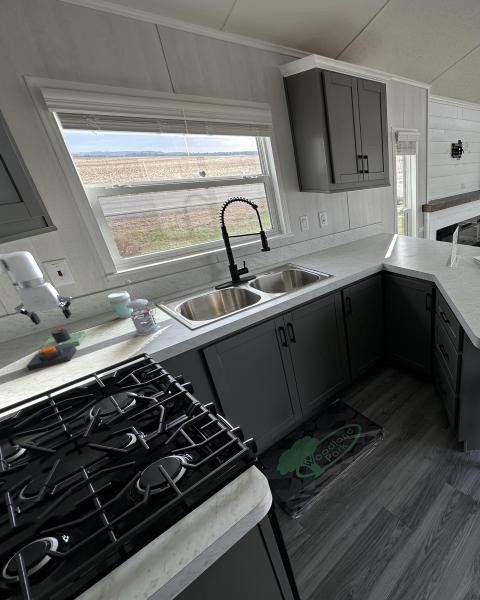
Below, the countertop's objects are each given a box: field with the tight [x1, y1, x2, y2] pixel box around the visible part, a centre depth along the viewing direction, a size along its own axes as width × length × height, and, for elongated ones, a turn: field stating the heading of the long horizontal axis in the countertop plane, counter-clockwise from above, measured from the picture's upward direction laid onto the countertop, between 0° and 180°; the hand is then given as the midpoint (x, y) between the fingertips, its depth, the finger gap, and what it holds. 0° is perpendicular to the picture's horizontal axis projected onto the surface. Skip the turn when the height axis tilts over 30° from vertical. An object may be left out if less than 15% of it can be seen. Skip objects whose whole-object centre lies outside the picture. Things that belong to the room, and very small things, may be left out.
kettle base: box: [26, 346, 78, 371], centre depth 130 cm, size 12×9×4 cm
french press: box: [124, 279, 161, 337], centre depth 146 cm, size 10×12×25 cm
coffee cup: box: [107, 290, 134, 320], centre depth 162 cm, size 8×8×12 cm
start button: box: [40, 346, 57, 355], centre depth 129 cm, size 4×4×2 cm
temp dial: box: [50, 327, 71, 343], centre depth 140 cm, size 5×5×5 cm
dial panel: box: [40, 330, 87, 351], centre depth 142 cm, size 12×10×2 cm
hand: (53, 320), depth 137 cm, fingers open, 9 cm apart
